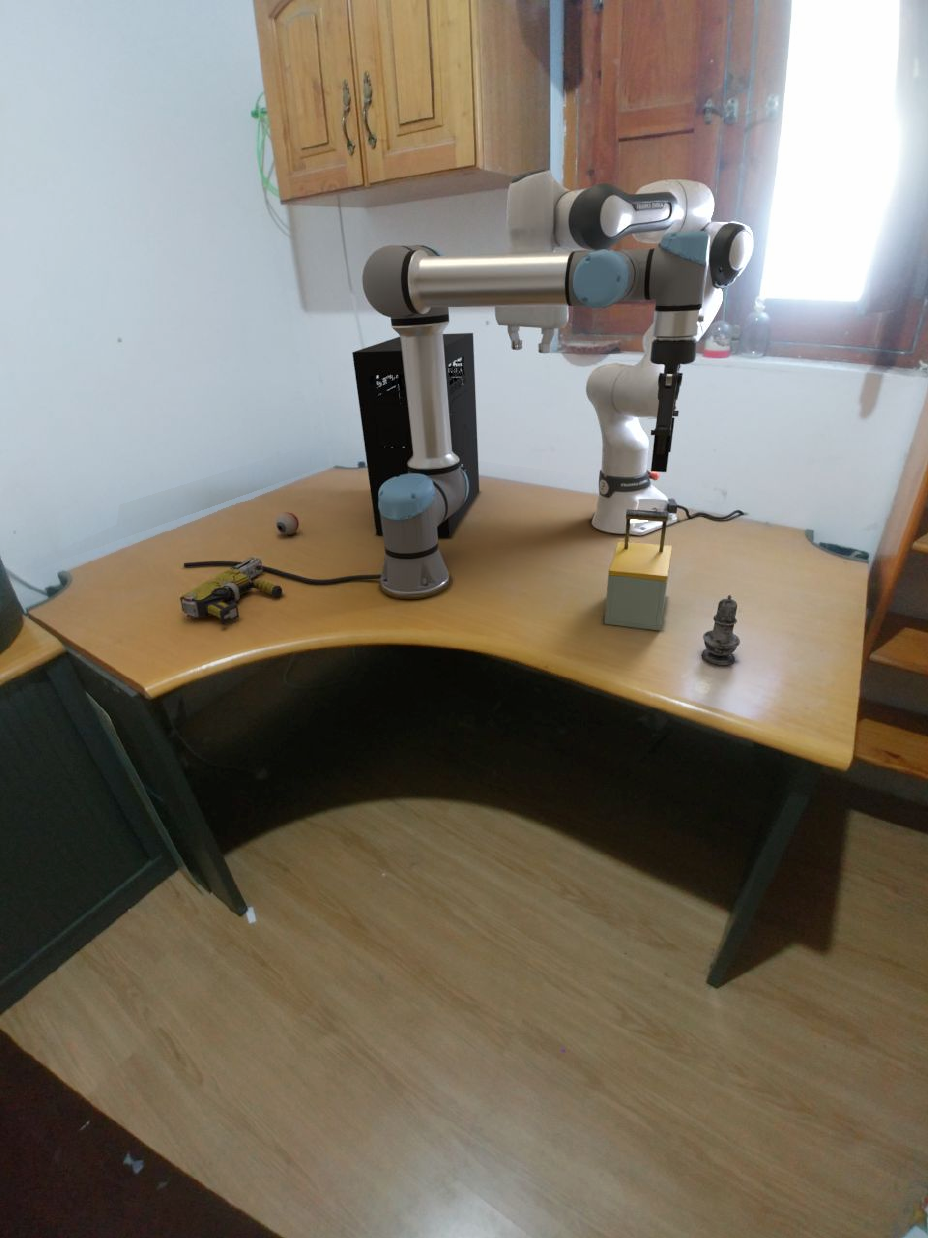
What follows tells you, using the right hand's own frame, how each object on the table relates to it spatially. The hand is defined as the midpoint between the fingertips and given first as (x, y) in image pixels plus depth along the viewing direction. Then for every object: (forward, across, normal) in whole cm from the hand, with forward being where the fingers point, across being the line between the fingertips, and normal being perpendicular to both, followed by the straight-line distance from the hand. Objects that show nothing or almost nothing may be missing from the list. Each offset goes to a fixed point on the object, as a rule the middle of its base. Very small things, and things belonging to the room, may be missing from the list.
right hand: (530, 351), depth 123 cm
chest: (+45, -35, 0) cm, 57 cm away
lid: (+35, -35, -1) cm, 49 cm away
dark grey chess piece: (+45, -55, 0) cm, 71 cm away
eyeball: (+45, +50, +45) cm, 81 cm away
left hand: (+18, -29, -9) cm, 36 cm away
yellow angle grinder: (+45, +18, +64) cm, 80 cm away
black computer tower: (+45, +41, +5) cm, 61 cm away
